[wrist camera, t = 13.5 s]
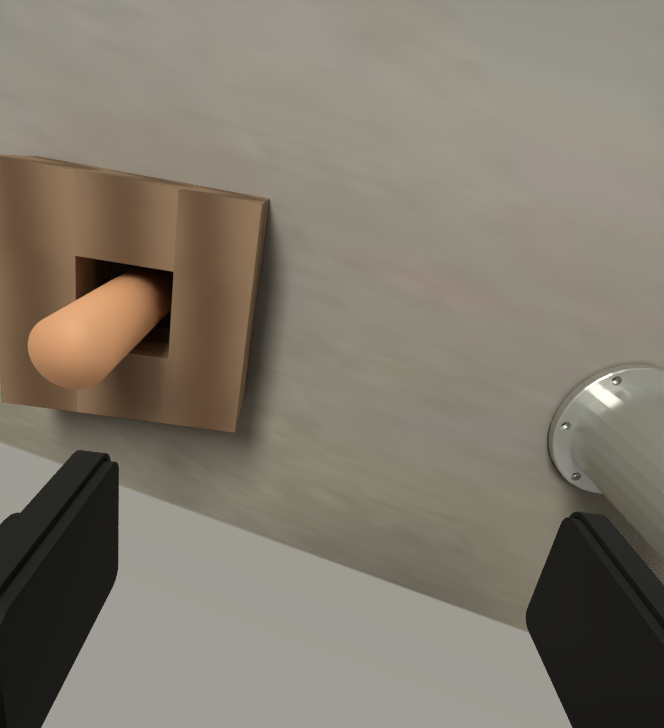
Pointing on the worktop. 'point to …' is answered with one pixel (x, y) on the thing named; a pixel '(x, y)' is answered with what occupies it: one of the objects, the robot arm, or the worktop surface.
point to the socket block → (140, 248)
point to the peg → (100, 328)
